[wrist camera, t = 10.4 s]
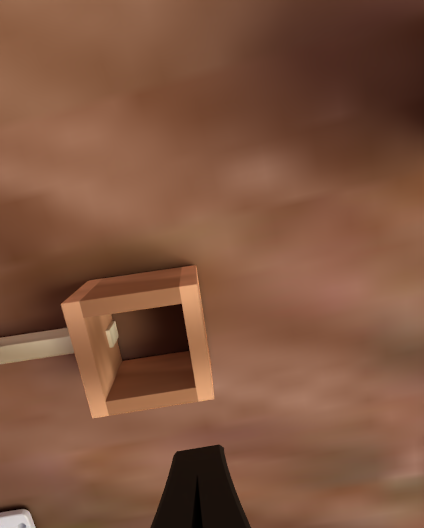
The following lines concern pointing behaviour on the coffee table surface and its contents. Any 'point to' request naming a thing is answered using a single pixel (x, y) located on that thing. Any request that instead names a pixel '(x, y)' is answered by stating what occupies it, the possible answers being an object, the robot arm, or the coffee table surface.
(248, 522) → the robot arm
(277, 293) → the coffee table surface
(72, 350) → the pull frame
